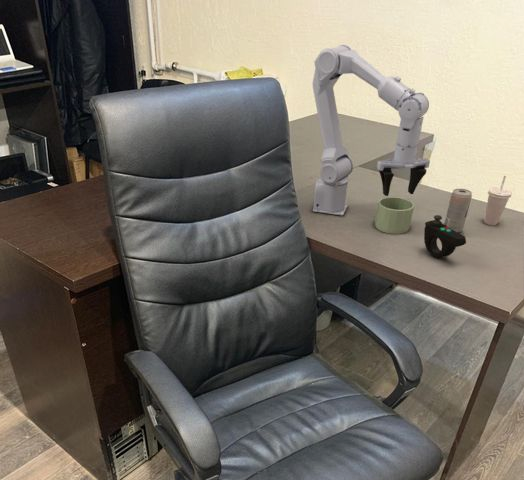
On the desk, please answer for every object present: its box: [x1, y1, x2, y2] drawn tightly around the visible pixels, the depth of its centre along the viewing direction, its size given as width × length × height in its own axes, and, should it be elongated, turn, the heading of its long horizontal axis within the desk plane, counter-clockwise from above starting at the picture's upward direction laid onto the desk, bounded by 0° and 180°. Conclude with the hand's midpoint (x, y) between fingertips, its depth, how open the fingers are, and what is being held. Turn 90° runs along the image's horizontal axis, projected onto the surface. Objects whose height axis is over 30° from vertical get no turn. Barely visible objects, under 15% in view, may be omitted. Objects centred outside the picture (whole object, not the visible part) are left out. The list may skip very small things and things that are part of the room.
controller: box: [423, 214, 467, 259], centre depth 137 cm, size 4×12×10 cm, turn 30°
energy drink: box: [443, 188, 473, 235], centre depth 148 cm, size 5×5×12 cm
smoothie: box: [484, 175, 513, 226], centre depth 153 cm, size 6×6×14 cm
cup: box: [374, 196, 415, 235], centre depth 152 cm, size 10×10×7 cm
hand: (398, 193), depth 148 cm, fingers open, 7 cm apart
